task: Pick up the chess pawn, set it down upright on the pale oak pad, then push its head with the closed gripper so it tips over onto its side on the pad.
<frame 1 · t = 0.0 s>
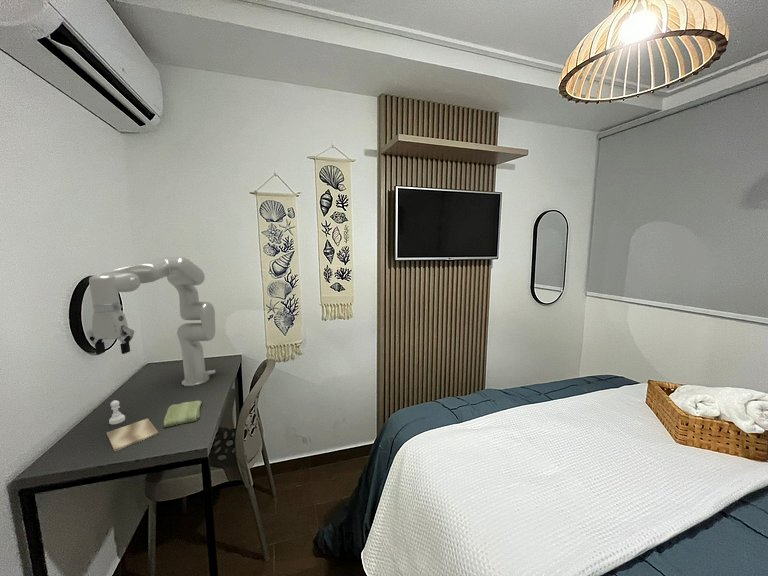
hand: (113, 353, 119), 31 cm above the table, tool pointing down, fingers open, 9 cm apart
chess pawn: (117, 421, 130), on the table
washcloth: (183, 416, 134), on the table
oak pad: (132, 434, 120), on the table
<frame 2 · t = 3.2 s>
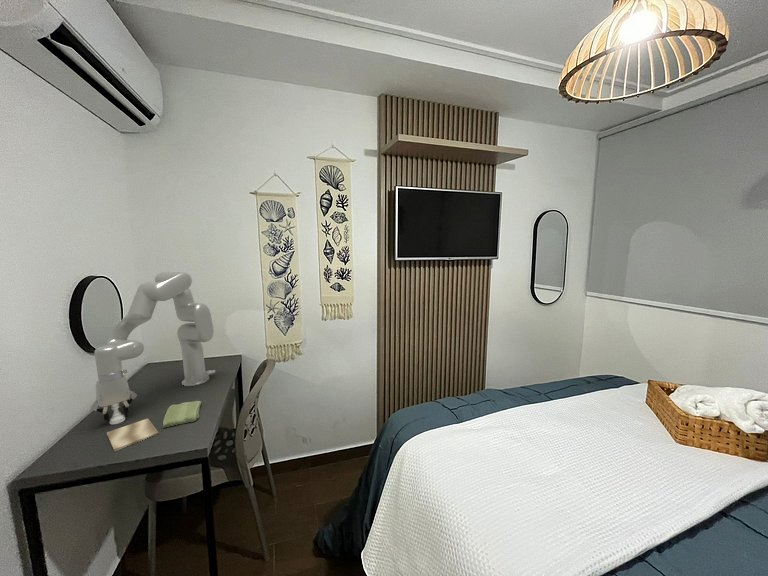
hand: (117, 418, 130), 1 cm above the table, tool pointing down, fingers closed on chess pawn, 5 cm apart
chess pawn: (117, 421, 130), on the table, touching gripper
everything else where it was.
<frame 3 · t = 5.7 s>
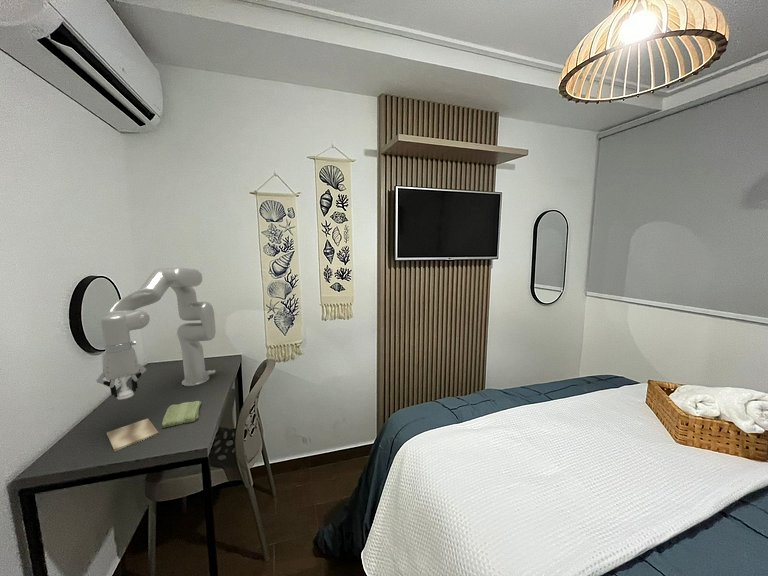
hand: (124, 392, 121), 15 cm above the table, tool pointing down, fingers closed on chess pawn, 5 cm apart
chess pawn: (125, 397, 121), point 14 cm above the table, touching gripper
everything else where it was.
when the fingers open (3 cm above the table, at t = 8.4 s): chess pawn stays where it is, resting on oak pad.
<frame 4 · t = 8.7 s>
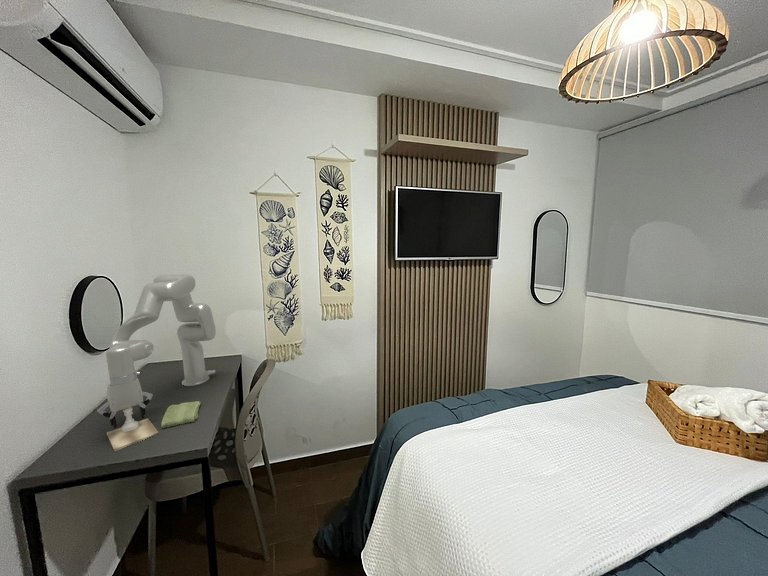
hand: (129, 421, 122), 4 cm above the table, tool pointing down, fingers open, 8 cm apart
chess pawn: (130, 428, 123), point 1 cm above the table, touching oak pad
everything else where it was.
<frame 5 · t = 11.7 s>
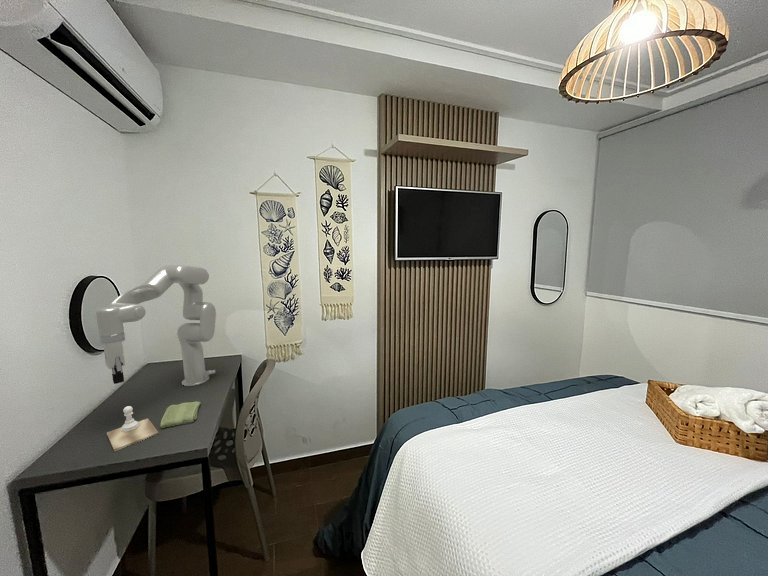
hand: (118, 382, 128), 17 cm above the table, tool pointing down, fingers closed
nothing on the table moved.
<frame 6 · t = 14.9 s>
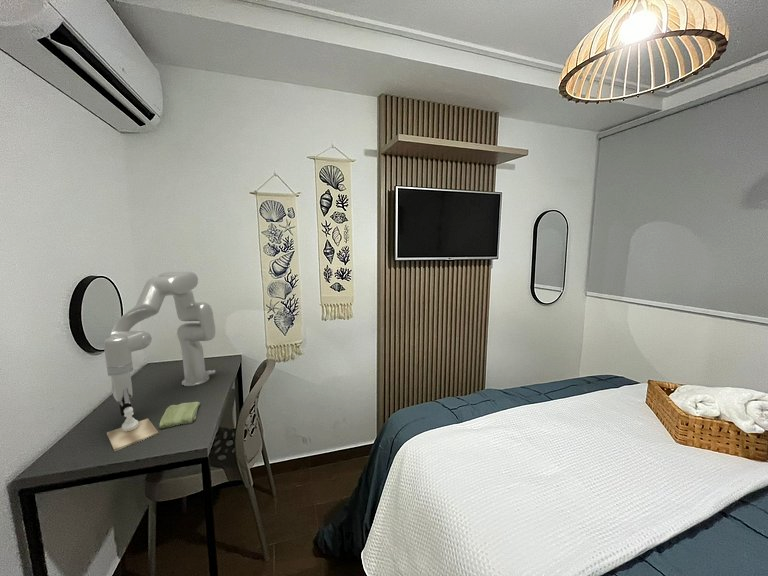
hand: (126, 413, 123), 6 cm above the table, tool pointing down, fingers closed
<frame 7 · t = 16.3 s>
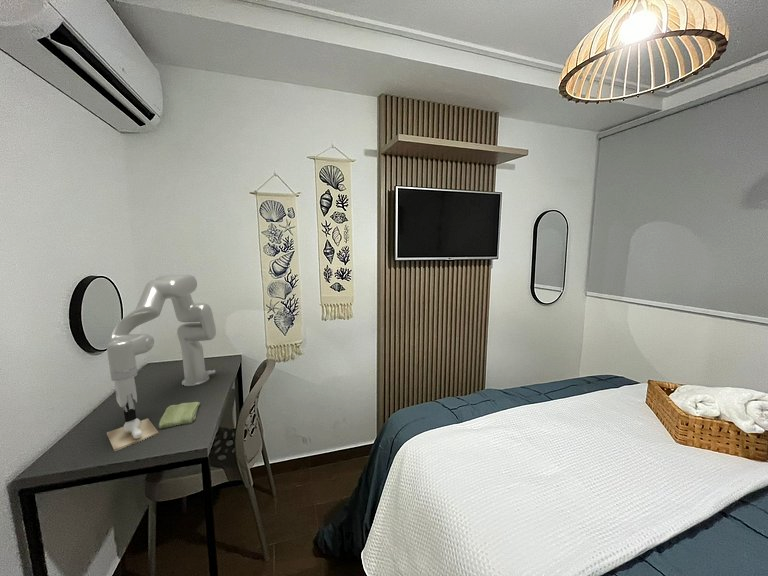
hand: (130, 419, 119), 6 cm above the table, tool pointing down, fingers closed
chess pawn: (131, 424, 121), point 4 cm above the table, touching oak pad
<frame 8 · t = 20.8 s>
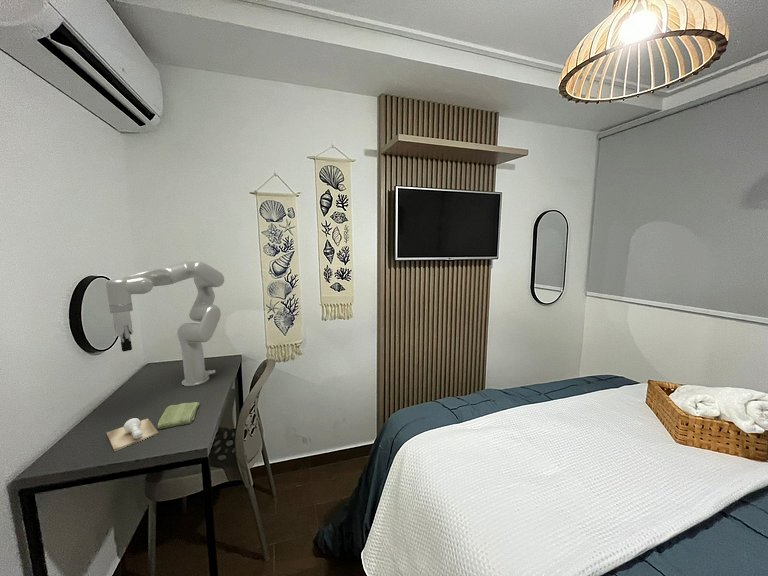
hand: (127, 350, 136), 27 cm above the table, tool pointing down, fingers closed
at the end: chess pawn tilted 100°; chess pawn inside the target area (2.1 cm from its centre), point 3.6 cm above the table; the gripper is holding nothing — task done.
